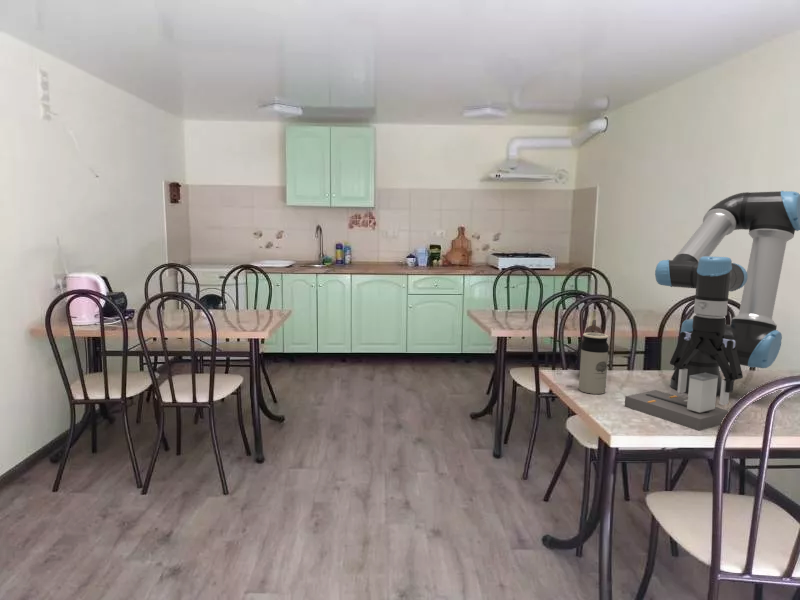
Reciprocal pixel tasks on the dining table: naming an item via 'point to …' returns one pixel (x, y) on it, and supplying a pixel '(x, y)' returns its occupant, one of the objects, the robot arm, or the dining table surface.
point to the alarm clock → (591, 331)
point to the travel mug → (593, 363)
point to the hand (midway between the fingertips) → (701, 398)
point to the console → (674, 409)
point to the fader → (702, 392)
